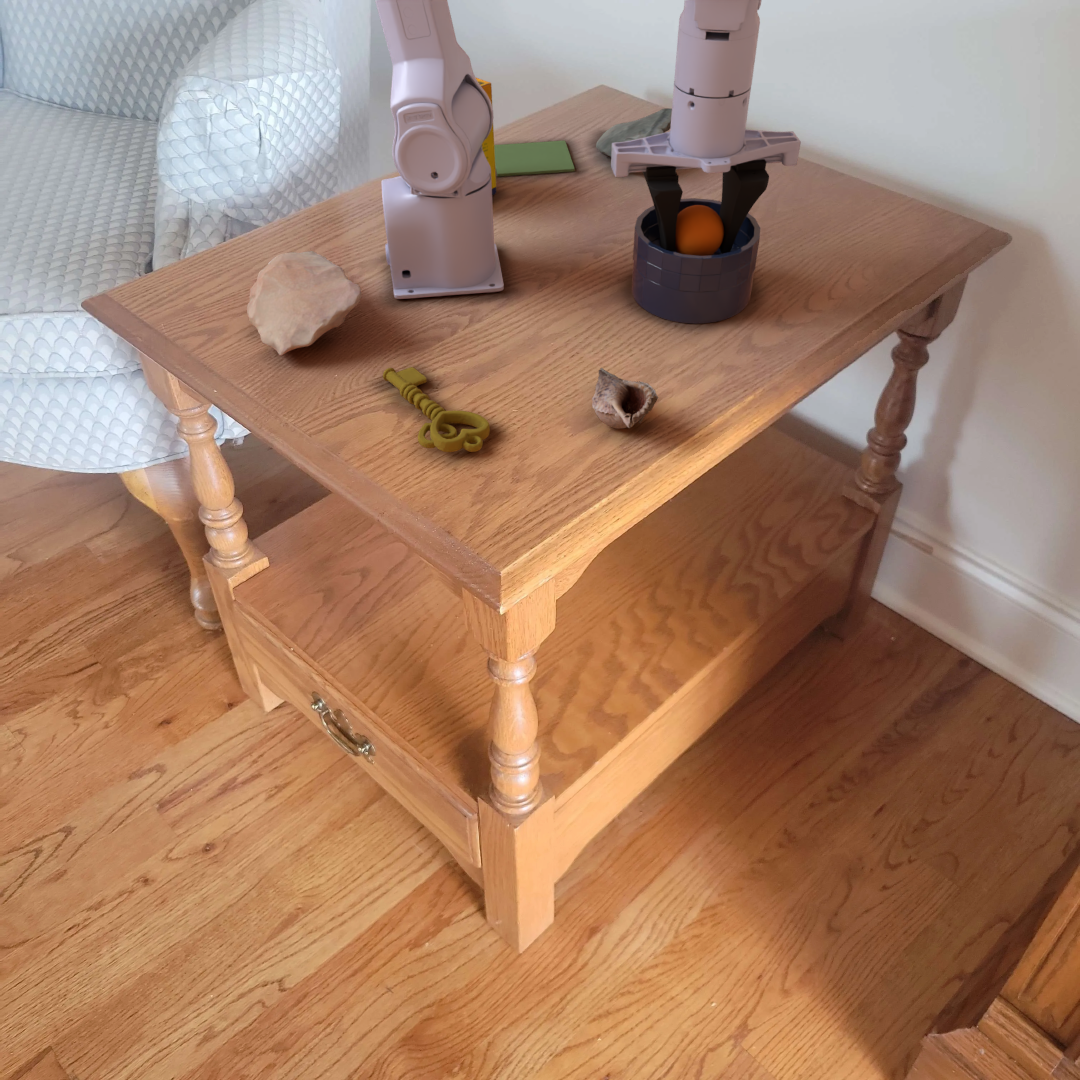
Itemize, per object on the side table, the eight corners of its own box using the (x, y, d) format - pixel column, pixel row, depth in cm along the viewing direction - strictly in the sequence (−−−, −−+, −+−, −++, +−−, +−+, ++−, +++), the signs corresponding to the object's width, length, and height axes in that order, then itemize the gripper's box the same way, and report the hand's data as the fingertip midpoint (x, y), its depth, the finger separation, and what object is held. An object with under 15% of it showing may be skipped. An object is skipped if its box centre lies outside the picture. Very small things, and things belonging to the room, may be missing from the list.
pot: (644, 328, 83) (648, 262, 79) (622, 265, 90) (625, 202, 86) (764, 318, 84) (775, 253, 80) (733, 257, 91) (741, 194, 87)
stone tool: (257, 346, 77) (212, 264, 87) (295, 386, 80) (247, 303, 90) (349, 273, 77) (294, 200, 87) (383, 316, 80) (326, 241, 90)
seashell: (648, 451, 74) (598, 456, 73) (618, 369, 78) (570, 373, 77) (665, 412, 70) (613, 417, 69) (632, 328, 74) (582, 332, 73)
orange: (674, 272, 83) (679, 222, 80) (663, 245, 86) (667, 197, 83) (726, 268, 84) (733, 219, 80) (713, 242, 87) (719, 193, 84)
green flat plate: (497, 176, 103) (497, 174, 103) (491, 147, 108) (491, 145, 108) (574, 171, 104) (574, 168, 104) (565, 142, 109) (565, 140, 109)
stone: (578, 184, 104) (670, 168, 100) (569, 145, 102) (662, 127, 98) (609, 151, 112) (696, 135, 108) (601, 114, 110) (689, 97, 106)
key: (411, 372, 80) (356, 391, 77) (411, 357, 79) (355, 376, 76) (503, 445, 73) (446, 468, 71) (503, 430, 72) (446, 454, 70)
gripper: (626, 110, 71) (617, 281, 81) (824, 98, 73) (793, 268, 82) (609, 73, 76) (603, 238, 86) (795, 62, 78) (768, 226, 87)
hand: (694, 250), depth 84 cm, fingers closed on orange, 4 cm apart
